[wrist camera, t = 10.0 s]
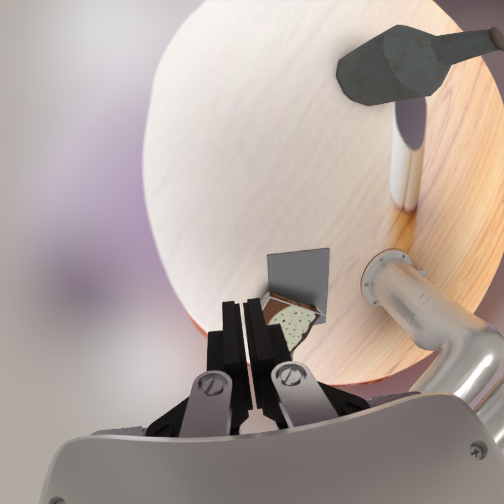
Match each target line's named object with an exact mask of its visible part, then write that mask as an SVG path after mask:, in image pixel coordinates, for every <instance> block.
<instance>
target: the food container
mask: <svg viewBox="0 0 504 504" xmlns="http://www.w3.org/2000/svg"><path fill="white" fill-rule="evenodd" d="M260 303H261V307H262V311H263V315H264V319H265V323H266V325H272V324H279V323H280V324H281V327H282V330H283V333H284V336H285V339H286V342H287V345H288V348H289V352H290V355H291V358H292V360H293V352H294V350H295V349H296V347H297V346H298V345H299V344H300V343H301V342H303V341H304V339H305V338H306V337H307V335H308V334H309V332H310V330H311V328H312V326H313V324H314V323H315V322H316V320H317V319H318V318H319V316H320V315H323V316H326V315H325V313H324V311H323V310H322V309H321V308H320V307H318V306H317V305H316V304H314V303H310V304H308V305H306V304H303V303H300V302H297V301H294V300H291V299H288V298H285V297H282V296H280V295H277V294H274V293H271V292H267V293H266V294H265V295H264V296H263V298H262V299H261V301H260ZM246 337H247V333H246Z"/></svg>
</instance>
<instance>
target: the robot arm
mask: <svg viewBox="0 0 504 504" xmlns="http://www.w3.org/2000/svg"><path fill="white" fill-rule="evenodd" d="M425 275H426V271H425V269H421V270H417V269H415V268H414V267H413V265H412V262H411V259H410V258H409V256H408V255H407V254H406V253H404V252H403V251H400V250H397V249H391V250H387V251H384V252H382V253H380V254H379V255H377V256H376V257H375V258H374V259H373V260H372V261H371V262H370V263H369V265H368V266H367V268H366V270H365V272H364V274H363V277H362V282H361V290H362V294H363V296H364V298H365V299H366V301H367V302H368V303H370V304H371V305H373V306H377V307H383V308H384V309H385V310H386V311H387V312H388V314H389V315H390V316H391V317H392V318H393V319H394V320H395V321H396V323H397V324H398V325H399V326H400V327H401V328H402V329H403V331H404V332H405V333H406V334H407V335H408V336H409V338H410V339H411V340H412V341H413V342H414V343H415V344H416V345H417V346H418V347H419V348H421V349H424V350H429V351H440V350H441V351H440V353H439V354H438V356H437V357H436V359H435V360H434V362H433V363H432V364H431V365H430V366H429V368H428V369H427V370H426V371H425V372H424V374H423V375H422V376H421V377H420V378H419V379H418V381H417V382H416V383H415V384H414V385H413V386H412V387H411V389H410V390H409V391H408V392H406V393H399V394H393V395H386V396H378V397H371V399H370V400H364V399H363V398H361V397H358V396H356V395H353V394H350V393H347V392H345V391H342V390H339V389H336V388H334V387H331V386H329V385H326V384H323V383H321V382H318V381H316V379H315V378H314V376H313V374H312V373H311V371H310V369H309V368H308V367H307V366H306V365H304V364H302V363H300V362H296V361H292V358H291V355H290V352H289V348H288V345H287V342H286V339H285V336H284V333H283V330H282V327H281V324H280V323H279V324H272V325H266V323H265V319H264V315H263V311H262V307H261V303H260V299H259V298H254V299H247V303H243V307H244V316H245V325H246V333H247V342H248V350H249V357H250V364H251V371H252V377H253V384H254V391H255V397H256V404H257V409H260V408H262V410H263V415H265V416H266V417H268V418H270V419H272V420H273V422H274V426H275V428H276V431H269V432H262V433H254V434H245V435H241V431H242V427H241V424H242V423H243V422H244V421H245V420H246V419H247V418H248V417H249V414H248V410H253V405H252V398H251V391H250V384H249V376H248V369H247V361H246V353H245V346H244V338H243V330H242V322H241V314H240V306H239V303H238V304H235V303H234V301H228V302H222V314H223V330H221V331H211V332H208V347H207V372H204V373H202V374H201V375H199V376H198V377H197V378H196V379H195V381H194V383H193V386H192V389H191V393H190V396H189V397H188V398H186V399H185V400H184V401H182V402H181V403H180V404H178V405H177V406H176V407H174V408H173V409H171V410H170V411H169V412H167V413H166V414H164V415H163V416H161V417H160V418H159V419H157V420H156V421H154V422H153V423H152V424H151V425H150V426H149V427H148V428H142V426H139V427H130V428H121V429H111V430H100V431H96V432H94V433H93V434H91V435H89V436H83V437H78V438H74V439H71V440H69V441H66V442H65V443H63V444H62V445H61V446H60V447H59V448H58V450H57V451H56V453H55V455H54V457H53V459H52V461H51V463H50V465H49V468H48V471H47V474H46V477H45V481H44V484H43V488H42V492H41V496H40V501H39V504H504V456H503V454H502V453H501V451H500V450H501V449H502V448H504V375H503V376H502V377H501V378H500V379H499V380H498V381H497V383H496V384H495V385H494V386H493V387H492V388H491V390H490V391H489V392H488V393H487V394H486V395H485V397H484V398H483V399H482V400H481V401H480V402H479V403H478V404H477V406H476V407H475V408H474V409H473V410H472V409H471V408H470V407H469V405H468V404H469V403H470V402H471V401H472V400H473V399H474V398H475V397H476V396H477V395H478V394H479V393H480V392H481V390H482V389H483V388H484V387H485V386H486V384H487V383H488V382H489V381H490V379H491V378H492V377H493V376H494V374H495V373H496V371H497V370H498V368H499V366H500V365H501V363H502V360H503V358H504V338H503V336H502V334H501V333H500V332H499V331H498V330H497V329H496V328H495V327H493V326H491V325H490V324H489V323H487V322H485V321H483V320H482V319H480V318H478V317H476V316H475V315H473V314H472V313H470V312H469V311H467V310H466V309H465V308H463V307H462V306H461V305H459V304H458V303H457V302H455V301H454V300H453V299H452V298H450V297H449V296H448V295H447V294H445V293H444V292H443V291H442V290H440V289H439V288H438V287H437V286H435V285H434V284H433V283H431V282H430V281H429V280H428V279H427V278H425V277H424V276H425Z"/></svg>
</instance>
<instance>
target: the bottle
mask: <svg viewBox="0 0 504 504" xmlns="http://www.w3.org/2000/svg"><path fill="white" fill-rule="evenodd" d="M496 50H501V51H504V36H503V34H502V33H501V32H500V31H499V30H498V29H497V28H495V27H492V28H491V29H490V30H479V31H469V32H460V33H453V34H446V35H440V36H434V35H432V34H429V33H426V32H424V31H421V30H418V29H415V28H412V27H409V26H404V25H396V26H394V27H392V28H390V29H388V30H387V31H385V32H383V33H381V34H380V35H378V36H376V37H374V38H373V39H371V40H369V41H368V42H366V43H364V44H363V45H361V46H360V47H358V48H356V49H355V50H353V51H352V52H350V53H349V54H347V55H346V56H344V57H343V58H342V59H340V60H339V65H338V72H337V77H338V79H339V81H340V83H341V86H342V88H343V90H344V92H345V93H346V94H347V95H348V96H349V97H350V98H351V99H352V100H354V101H357V102H360V103H362V104H365V105H367V106H372V105H378V104H384V103H389V102H394V101H400V100H406V99H412V98H419V97H426V96H431V95H432V94H433V93H434V92H435V91H436V90H437V89H438V88H439V87H440V86H441V85H442V83H443V81H444V79H445V77H446V75H447V73H448V71H449V69H450V67H451V65H453V64H456V63H459V62H462V61H465V60H468V59H471V58H474V57H477V56H480V55H483V54H486V53H489V52H493V51H496Z"/></svg>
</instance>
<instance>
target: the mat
mask: <svg viewBox="0 0 504 504" xmlns="http://www.w3.org/2000/svg"><path fill="white" fill-rule="evenodd" d="M329 250H330V249H329V248H323V249H315V250H306V251H297V252H288V253H279V254H270V255H267V259H268V276H269V292H271V293H274V294H277V295H280V296H282V297H285V298H288V299H291V300H294V301H297V302H300V303H303V304H306V305H308V304H310V303H314V304H316V305H317V306H318V307H320V308H321V309H322V310H323V311H324V313H325V315H326V308H327V294H328V276H329ZM325 321H326V316H323V315H320V316H319V318H318V319H317V320H316V322H315V323H314V324H313V325H316V324H322V323H325Z"/></svg>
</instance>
